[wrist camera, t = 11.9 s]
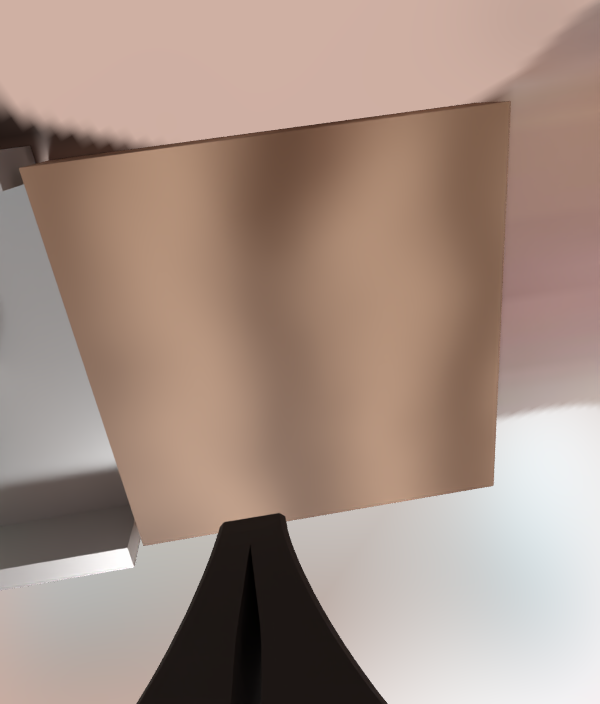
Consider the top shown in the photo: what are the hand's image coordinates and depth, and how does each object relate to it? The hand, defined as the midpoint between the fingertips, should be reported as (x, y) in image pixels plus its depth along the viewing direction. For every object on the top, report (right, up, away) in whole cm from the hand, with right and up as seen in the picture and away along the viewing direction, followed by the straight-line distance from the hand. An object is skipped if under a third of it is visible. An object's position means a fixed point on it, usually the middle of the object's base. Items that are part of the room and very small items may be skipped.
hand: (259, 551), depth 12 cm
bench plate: (+1, +5, +8) cm, 10 cm away
